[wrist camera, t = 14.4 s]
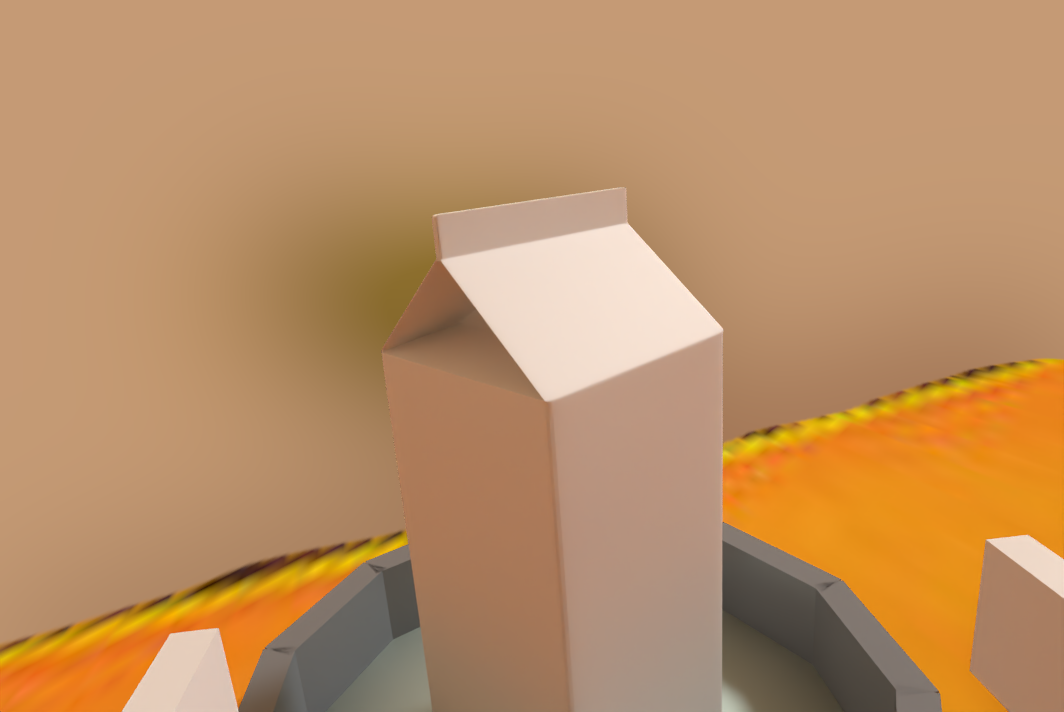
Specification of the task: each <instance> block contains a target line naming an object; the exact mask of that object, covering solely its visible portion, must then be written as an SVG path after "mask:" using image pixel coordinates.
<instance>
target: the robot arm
mask: <svg viewBox="0 0 1064 712" xmlns="http://www.w3.org/2000/svg"><path fill="white" fill-rule="evenodd" d="M970 671H971V672H972V673H973V675H974V676H975V677H976V678H977V679H978V680H979V681H980V682H981V683H982V684H983V685H984V686H985V687H986V688H987V689H988V690H989V691H990V692H991V693H992V694H993V695H994V696H995V697H996V699H997V700H998V701H999V702H1000V703H1001V704H1002V705H1003V706H1004V707H1005V708H1006V709H1007V710H1008V711H1009V712H1064V559H1062V558H1061V557H1059V556H1058V555H1056V554H1055V553H1053V552H1052V551H1051V550H1049V549H1048V548H1046V547H1045V546H1043V545H1042V544H1040V543H1039V542H1037V541H1036V540H1035V539H1033V538H1032V537H1030V536H1029V535H1022V536H1014V537H1005V538H996V539H988V540H986V544H985V552H984V560H983V568H982V576H981V584H980V592H979V600H978V608H977V616H976V624H975V632H974V640H973V648H972V656H971V664H970ZM122 712H239V711H238V707H237V703H236V699H235V695H234V690H233V686H232V682H231V678H230V674H229V670H228V665H227V661H226V657H225V653H224V649H223V645H222V640H221V636H220V632H219V628H215V629H206V630H197V631H189V632H180V633H171V634H170V635H169V637H168V639H167V640H166V642H165V643H164V645H163V647H162V648H161V650H160V651H159V653H158V655H157V656H156V658H155V659H154V661H153V663H152V664H151V666H150V667H149V669H148V671H147V672H146V674H145V675H144V677H143V679H142V680H141V682H140V683H139V685H138V687H137V688H136V690H135V691H134V693H133V695H132V696H131V698H130V699H129V701H128V703H127V704H126V706H125V707H124V709H123V711H122Z"/></svg>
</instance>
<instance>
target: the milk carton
mask: <svg viewBox="0 0 1064 712" xmlns="http://www.w3.org/2000/svg"><path fill="white" fill-rule="evenodd" d="M626 201H627V200H626V188H614V189H607V190H600V191H593V192H586V193H579V194H573V195H566V196H559V197H552V198H545V199H538V200H532V201H525V202H518V203H511V204H504V205H497V206H491V207H484V208H477V209H471V210H463V211H457V212H450V213H443V214H436V215H433V216H432V224H433V232H434V240H435V250H436V257H437V259H436V260H435V262H434V264H433V266H432V267H431V269H430V270H429V272H428V274H427V275H426V277H425V279H424V280H423V282H422V284H421V285H420V287H419V289H418V290H417V292H416V294H415V295H414V297H413V298H412V300H411V302H410V303H409V305H408V307H407V309H406V310H405V312H404V313H403V315H402V317H401V318H400V320H399V322H398V323H397V325H396V327H395V328H394V330H393V331H392V333H391V335H390V336H389V338H388V340H387V342H386V343H385V345H384V346H383V349H382V351H381V353H382V358H383V367H384V374H385V382H386V390H387V397H388V403H389V411H390V417H391V424H392V431H393V439H394V446H395V453H396V460H397V467H398V474H399V480H400V487H401V494H402V501H403V508H404V516H405V523H406V530H407V537H408V544H409V551H410V558H411V565H412V572H413V579H414V586H415V592H416V599H417V606H418V613H419V620H420V627H421V634H422V641H423V648H424V655H425V662H426V669H427V676H428V683H429V690H430V697H431V704H432V711H433V712H722V447H723V439H722V438H723V436H722V435H723V426H722V424H723V416H722V415H723V414H722V413H723V412H722V411H723V401H722V400H723V328H722V327H721V326H720V325H719V324H718V323H717V322H716V320H714V318H713V317H712V316H711V315H710V314H709V313H708V312H707V311H706V309H705V308H704V307H702V305H701V304H700V303H699V302H698V301H697V299H696V298H695V297H694V296H693V295H692V294H691V293H690V292H689V291H688V290H687V288H686V287H685V286H684V285H683V284H682V283H681V282H680V281H679V280H678V278H677V277H676V276H675V275H674V274H673V273H672V272H671V271H670V270H669V268H667V266H666V265H665V264H664V263H663V262H662V261H661V260H660V259H659V258H658V257H657V255H656V254H655V253H654V252H653V251H652V250H651V249H650V247H649V246H648V245H647V244H646V243H645V242H644V241H643V240H642V239H641V238H640V237H639V235H638V234H637V233H636V232H635V231H634V230H633V229H632V228H631V226H630V225H629V224H628V223H627V203H626Z"/></svg>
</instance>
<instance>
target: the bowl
mask: <svg viewBox="0 0 1064 712" xmlns="http://www.w3.org/2000/svg"><path fill="white" fill-rule="evenodd" d="M238 711H239V712H433V711H432V704H431V697H430V690H429V683H428V676H427V669H426V662H425V655H424V648H423V641H422V634H421V627H420V620H419V613H418V606H417V599H416V592H415V586H414V579H413V572H412V565H411V558H410V551H409V544H408V545H405V546H403V547H400V548H398V549H395V550H393V551H390V552H388V553H385V554H383V555H380V556H378V557H375V558H373V559H370V560H368V561H366V563H363V564H361V565H360V566H359V567H358V568H357V569H356V570H355V571H353V572H352V573H351V574H350V575H349V576H348V577H346V578H345V579H344V580H343V581H342V582H341V583H339V584H338V585H337V586H336V587H335V588H334V589H332V590H331V591H330V592H329V593H328V594H327V595H325V596H324V597H323V598H322V599H321V600H320V601H319V602H317V603H316V604H315V605H314V606H313V607H312V608H310V609H309V610H308V611H307V612H306V613H305V614H303V615H302V616H301V617H300V618H299V619H298V620H296V621H295V622H294V623H293V624H292V625H291V626H289V627H288V628H287V629H286V630H285V631H284V632H283V633H281V634H280V635H279V636H278V637H277V638H276V639H274V640H273V641H272V642H271V643H270V644H269V645H267V646H266V647H265V649H264V650H263V652H262V654H261V656H260V659H259V661H258V664H257V666H256V668H255V671H254V673H253V676H252V678H251V680H250V683H249V685H248V688H247V690H246V692H245V695H244V697H243V700H242V702H241V704H240V707H239V709H238ZM722 712H942V708H941V699H940V693H939V691H938V690H937V689H936V687H935V686H934V685H933V684H932V683H931V682H930V681H929V679H928V678H927V677H926V676H925V675H924V674H923V672H922V671H921V670H920V669H919V668H918V667H917V666H916V664H915V663H914V662H913V661H912V660H911V659H910V658H909V656H908V655H907V654H906V653H905V652H904V651H903V649H902V648H901V647H900V646H899V645H898V644H897V643H896V641H895V640H894V639H893V638H892V637H891V636H890V634H889V633H888V632H887V631H886V630H885V629H884V628H883V626H882V625H881V624H880V623H879V622H878V621H877V619H876V618H875V617H874V616H873V615H872V614H871V613H870V611H869V610H868V609H867V608H866V607H865V606H864V604H863V603H862V602H861V601H860V600H859V599H858V598H857V596H856V595H855V594H854V593H853V592H852V591H851V589H850V588H849V587H848V586H847V585H846V584H845V583H844V581H841V579H839V578H837V577H835V576H833V575H831V574H829V573H827V572H825V571H823V570H821V569H819V568H817V567H815V566H813V565H811V564H809V563H806V562H804V561H802V560H800V559H798V558H796V557H794V556H792V555H790V554H788V553H786V552H784V551H782V550H780V549H778V548H776V547H774V546H772V545H769V544H767V543H765V542H763V541H761V540H759V539H757V538H755V537H753V536H751V535H749V534H747V533H745V532H743V531H741V530H739V529H737V528H734V527H732V526H730V525H728V524H726V523H724V522H722Z"/></svg>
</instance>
